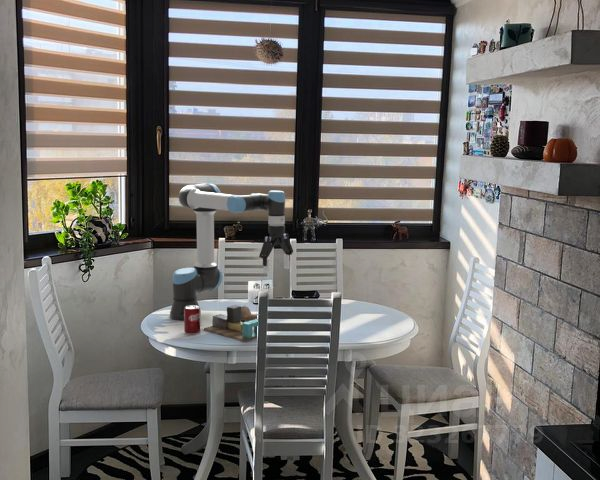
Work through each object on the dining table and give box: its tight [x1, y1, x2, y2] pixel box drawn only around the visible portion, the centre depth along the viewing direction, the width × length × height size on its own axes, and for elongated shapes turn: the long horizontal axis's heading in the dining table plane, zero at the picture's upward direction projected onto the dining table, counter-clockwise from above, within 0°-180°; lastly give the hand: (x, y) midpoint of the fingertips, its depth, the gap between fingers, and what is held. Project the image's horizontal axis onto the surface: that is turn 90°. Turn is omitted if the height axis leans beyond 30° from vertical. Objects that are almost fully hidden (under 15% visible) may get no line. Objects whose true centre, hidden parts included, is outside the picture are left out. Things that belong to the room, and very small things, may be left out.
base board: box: [203, 325, 258, 343], centre depth 342 cm, size 27×14×1 cm, turn 49°
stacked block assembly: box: [211, 313, 258, 339], centre depth 341 cm, size 26×10×6 cm, turn 49°
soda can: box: [183, 305, 201, 335], centre depth 341 cm, size 7×7×12 cm
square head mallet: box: [226, 304, 244, 332], centre depth 343 cm, size 18×5×10 cm, turn 49°
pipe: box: [241, 305, 259, 322], centre depth 363 cm, size 6×17×10 cm
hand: (276, 270), depth 343 cm, fingers open, 13 cm apart
